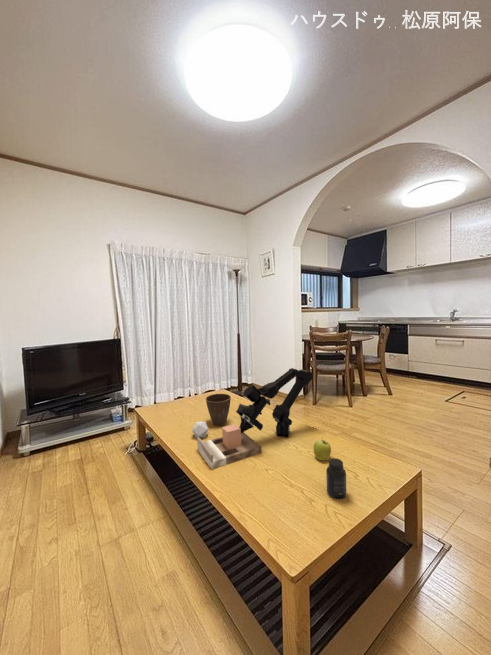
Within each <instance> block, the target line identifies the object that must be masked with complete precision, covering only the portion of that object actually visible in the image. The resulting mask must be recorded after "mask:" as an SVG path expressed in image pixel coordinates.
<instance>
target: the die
mask: <svg viewBox="0 0 491 655" xmlns="http://www.w3.org/2000/svg"><path fill="white" fill-rule="evenodd" d="M191 431H192V433H193V436H194V438H195V439H197V438H198V437H199V438H200V439H203V438H206V436H207V434H208V431H209V427H208V425H207V422H206V421H195V423H194V425H193V426H192V430H191Z"/></svg>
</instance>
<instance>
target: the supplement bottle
mask: <svg viewBox="0 0 491 655" xmlns="http://www.w3.org/2000/svg"><path fill="white" fill-rule="evenodd" d="M325 476H326V479H325V480H326V493H327V494H328V496H329V497H330V498H332V499H334V500H343V499H345V498H346V497H347V472H346V469H345V468H344V462H343V460H341V458H340V459H339V458H335V457H333V458H330V459H328V466H327V468H326V475H325Z"/></svg>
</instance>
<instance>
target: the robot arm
mask: <svg viewBox="0 0 491 655" xmlns="http://www.w3.org/2000/svg"><path fill="white" fill-rule="evenodd" d="M313 378H314V377H313V373H312V371H310V370H305V369H296V368H289V370H287V371H286V372H285V373H284V374H282V375H281V376H279V377H278V378H277V379H276V380H274V381H272V382H268V383H266V384H264V385H263V386H262V387H258V388H257V387H256V386H255V385H254V384H251V385H250V386H248V387H247V388H245V389H244V392H243V396H244V397H246V399H247V400H249V401H250V402H251V403H252V404H248V405H245V404H242V403H239V405H238V407H237V409H236V411H235V412H236V414H238V415H239V417H240V418H239V419H240V425H239V426H238V427H239V428H240V429H241V433H243V432H244V433H246V431H249V430H250V429H254V427H255V428H256V429H258V430H259V431H262V430H263V428H264V425H263V423H262V422H260V421H259V420H258V419H257V418H258V417H259V416H260V415H262V414H263V413H262V411H263V409H264V408H265V407H266V406H267V405H268V406H271V400H272V399H274V398H275V396H277V394H279V392H280V390H281V389H282V388H283V387H284V386H286V385H287V384H288V383H289V382H291V381H292V380H293V379H295V382H294V384H293V386H292V388H291V389H290V390H289V392H288V394H286V397H285V398H284V400H283V401H282V403H281V404H279V403H278V404H276V405H275V407H274V408H273V410H272V413H271V415H272V418H273V419H274V421H275V422H276V426H275V434H276V437H283V438H289V437H290V435H291V433H292V432H291V431H290V430H291V428H290V426H292V423H293V420H292V419H291V418H289V417H290V413H291V408H292V406H293V405H294V403H295V401H296V400H297V398H298V397H299V395H300V393H301V392H302V390H303V388H304V387H305V386H308V385H309V384H310V383H311V381H313ZM270 399H271V400H270Z"/></svg>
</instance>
